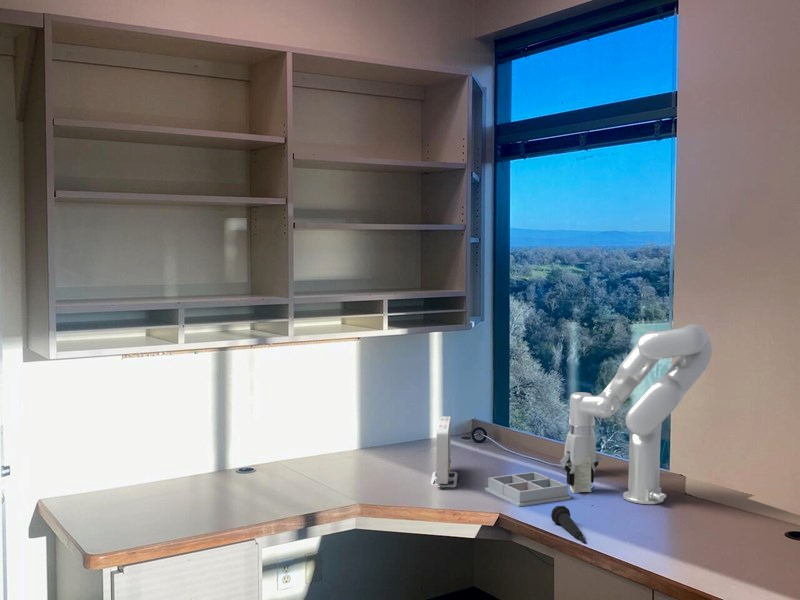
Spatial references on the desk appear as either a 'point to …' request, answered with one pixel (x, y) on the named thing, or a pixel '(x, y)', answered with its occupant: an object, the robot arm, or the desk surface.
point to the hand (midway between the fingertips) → (580, 482)
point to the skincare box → (582, 477)
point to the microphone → (566, 521)
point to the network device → (443, 454)
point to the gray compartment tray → (527, 489)
